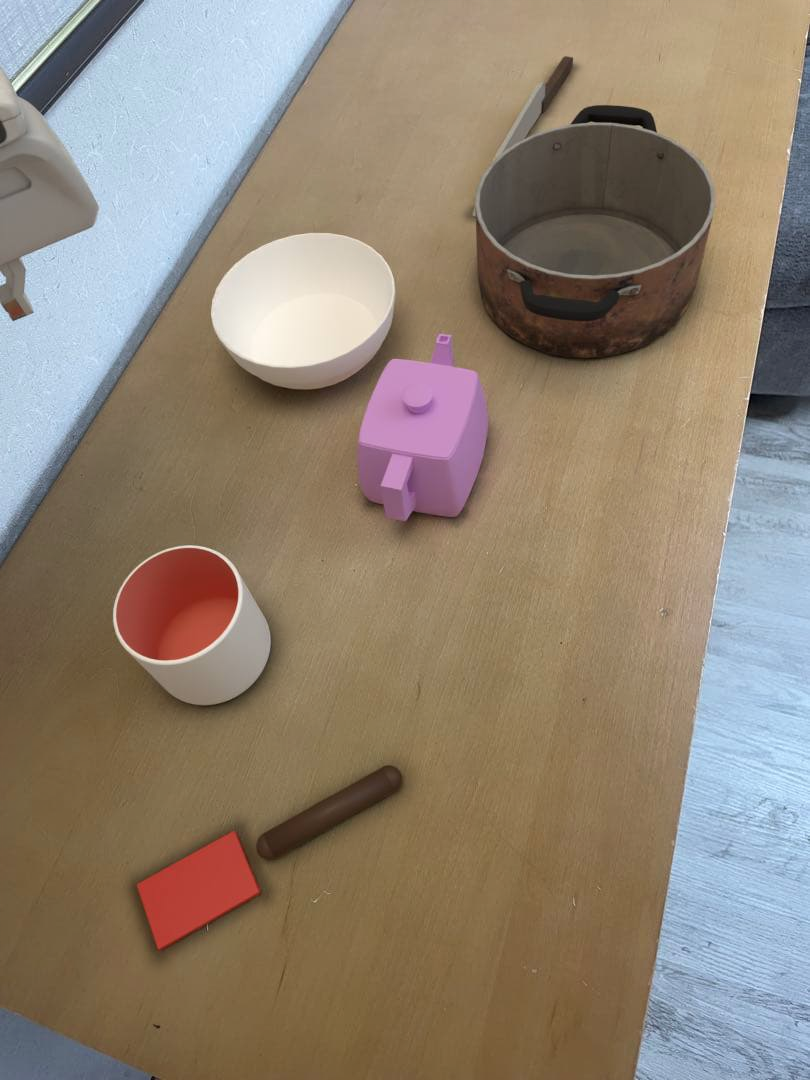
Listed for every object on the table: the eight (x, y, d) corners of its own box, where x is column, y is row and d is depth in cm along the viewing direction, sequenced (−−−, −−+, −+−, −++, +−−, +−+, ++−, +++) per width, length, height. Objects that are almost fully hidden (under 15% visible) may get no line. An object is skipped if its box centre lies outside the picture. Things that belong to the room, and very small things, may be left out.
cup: (144, 633, 74) (96, 581, 65) (248, 582, 75) (215, 524, 67) (181, 731, 69) (134, 688, 60) (292, 674, 70) (262, 624, 62)
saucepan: (512, 179, 99) (512, 92, 90) (710, 198, 94) (731, 107, 85) (445, 372, 85) (438, 292, 76) (673, 407, 80) (694, 325, 71)
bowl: (199, 388, 88) (175, 339, 81) (283, 270, 95) (268, 216, 89) (355, 438, 82) (342, 389, 76) (431, 308, 90) (425, 254, 84)
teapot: (402, 380, 85) (390, 305, 76) (505, 396, 83) (504, 320, 74) (346, 529, 77) (324, 464, 68) (457, 552, 75) (450, 488, 66)
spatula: (160, 950, 61) (150, 948, 59) (139, 885, 63) (128, 881, 61) (417, 804, 64) (414, 798, 62) (387, 747, 66) (383, 740, 65)
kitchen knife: (566, 38, 106) (468, 182, 93) (574, 40, 106) (477, 184, 93) (563, 72, 110) (470, 215, 97) (572, 73, 109) (478, 217, 96)
